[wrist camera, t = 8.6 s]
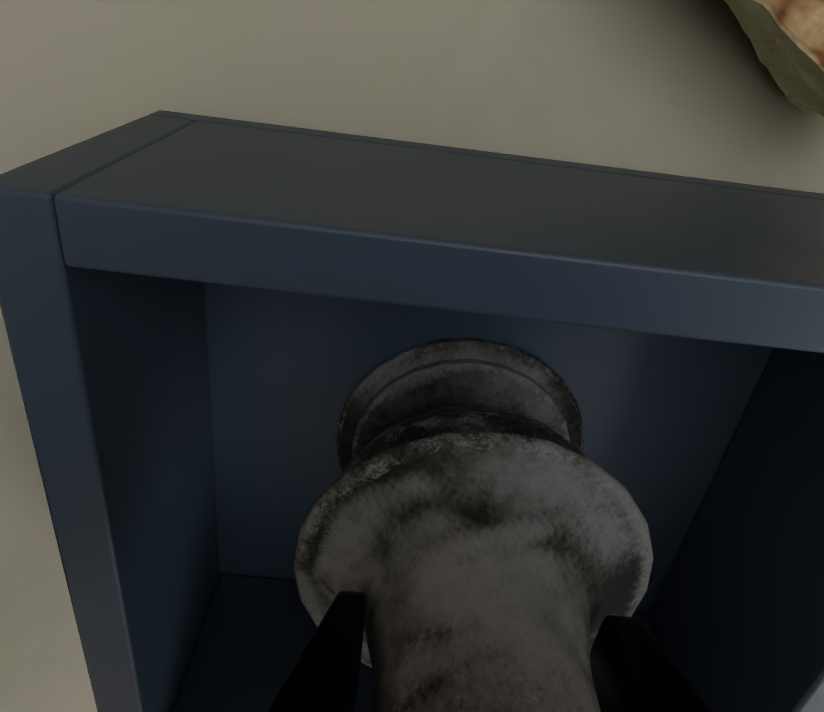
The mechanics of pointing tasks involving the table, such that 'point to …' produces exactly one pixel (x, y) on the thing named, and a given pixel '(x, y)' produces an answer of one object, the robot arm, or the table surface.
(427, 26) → the table surface
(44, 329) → the bin
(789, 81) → the shard
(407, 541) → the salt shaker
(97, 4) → the table surface
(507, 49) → the table surface
